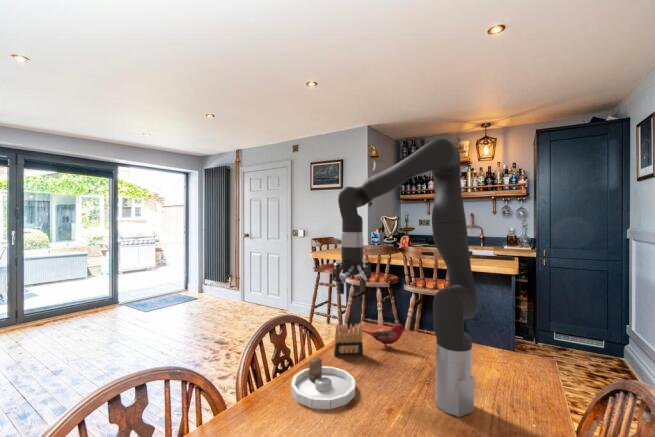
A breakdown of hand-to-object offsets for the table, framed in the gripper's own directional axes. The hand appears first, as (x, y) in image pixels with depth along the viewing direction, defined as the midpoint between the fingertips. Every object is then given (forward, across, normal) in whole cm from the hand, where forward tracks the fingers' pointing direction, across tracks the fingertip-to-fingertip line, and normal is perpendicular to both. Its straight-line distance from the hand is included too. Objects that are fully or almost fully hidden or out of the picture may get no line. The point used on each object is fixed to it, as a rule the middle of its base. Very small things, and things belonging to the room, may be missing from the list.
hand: (352, 292), depth 110 cm
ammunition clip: (+26, +5, +10) cm, 28 cm away
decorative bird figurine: (+26, +21, +9) cm, 35 cm away
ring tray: (+26, -15, -7) cm, 31 cm away
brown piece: (+26, -15, -1) cm, 30 cm away
